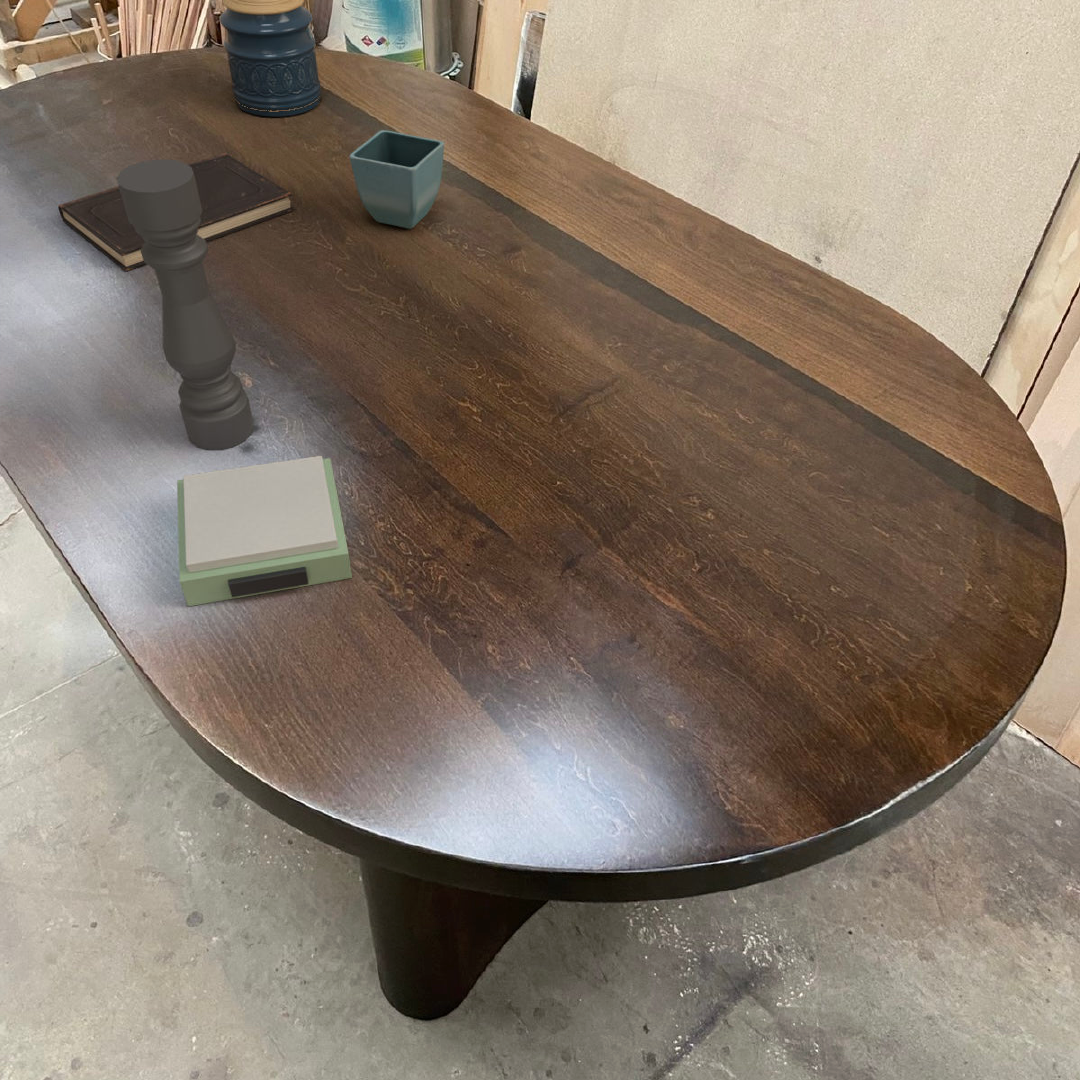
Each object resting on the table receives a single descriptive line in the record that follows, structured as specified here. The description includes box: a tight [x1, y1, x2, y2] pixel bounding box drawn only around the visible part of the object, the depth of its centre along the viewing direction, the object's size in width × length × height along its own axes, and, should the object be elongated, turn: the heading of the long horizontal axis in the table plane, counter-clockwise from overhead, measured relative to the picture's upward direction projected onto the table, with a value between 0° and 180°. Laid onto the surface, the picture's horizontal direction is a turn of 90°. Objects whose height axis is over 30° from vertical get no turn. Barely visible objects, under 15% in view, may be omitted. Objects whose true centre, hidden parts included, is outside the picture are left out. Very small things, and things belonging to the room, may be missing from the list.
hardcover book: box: [57, 152, 295, 272], centre depth 120 cm, size 16×23×2 cm
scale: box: [176, 455, 353, 607], centre depth 80 cm, size 13×12×4 cm
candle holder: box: [116, 158, 255, 451], centre depth 83 cm, size 6×6×25 cm
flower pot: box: [348, 129, 445, 230], centre depth 119 cm, size 9×9×9 cm
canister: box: [219, 0, 322, 118], centre depth 140 cm, size 13×13×18 cm
